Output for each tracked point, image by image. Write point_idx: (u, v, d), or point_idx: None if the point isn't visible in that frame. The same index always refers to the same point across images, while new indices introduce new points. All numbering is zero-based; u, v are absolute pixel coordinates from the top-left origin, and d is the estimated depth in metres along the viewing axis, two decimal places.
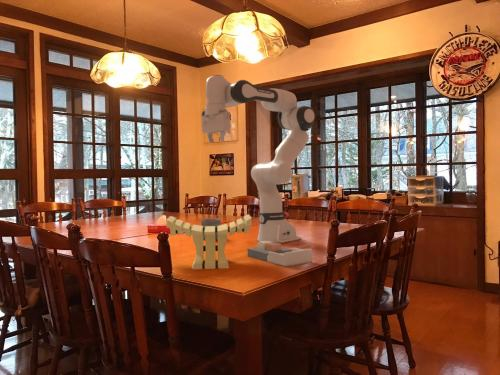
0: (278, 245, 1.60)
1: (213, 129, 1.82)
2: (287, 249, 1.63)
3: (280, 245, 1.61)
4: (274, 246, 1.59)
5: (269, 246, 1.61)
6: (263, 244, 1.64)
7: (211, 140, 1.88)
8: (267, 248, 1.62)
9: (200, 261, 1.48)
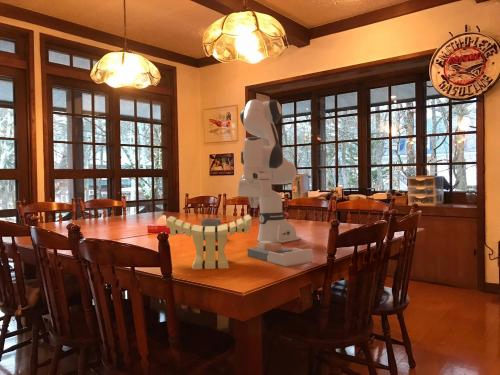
0: (278, 245, 1.60)
1: None
2: (287, 249, 1.63)
3: (280, 245, 1.61)
4: (274, 246, 1.59)
5: (269, 246, 1.61)
6: (263, 244, 1.64)
7: None
8: (267, 248, 1.62)
9: (200, 261, 1.48)
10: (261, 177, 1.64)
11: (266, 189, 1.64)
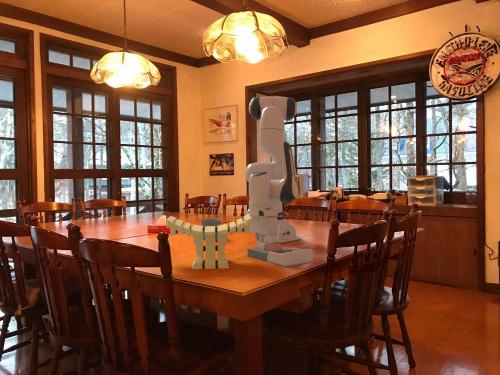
0: (278, 245, 1.60)
1: None
2: (287, 249, 1.63)
3: (280, 245, 1.61)
4: (274, 246, 1.59)
5: (269, 246, 1.61)
6: (263, 244, 1.64)
7: None
8: (267, 248, 1.62)
9: (200, 261, 1.48)
10: (267, 215, 1.61)
11: (273, 227, 1.61)
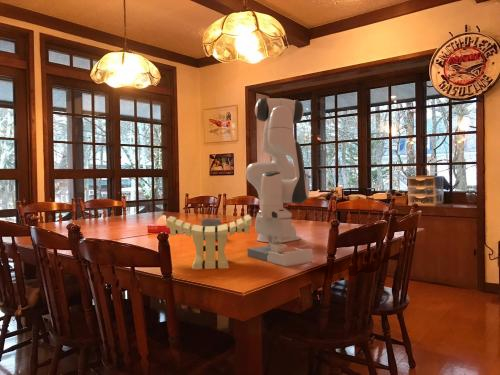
0: None
1: None
2: None
3: None
4: None
5: None
6: (276, 247, 1.57)
7: None
8: (284, 251, 1.53)
9: (200, 261, 1.48)
10: (281, 217, 1.54)
11: (287, 229, 1.54)
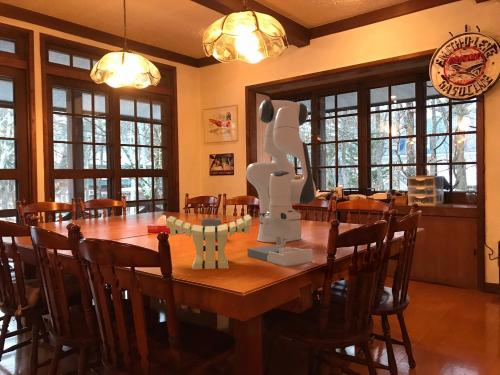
0: None
1: None
2: None
3: None
4: None
5: None
6: None
7: None
8: None
9: (200, 261, 1.48)
10: (290, 218, 1.49)
11: (296, 231, 1.49)
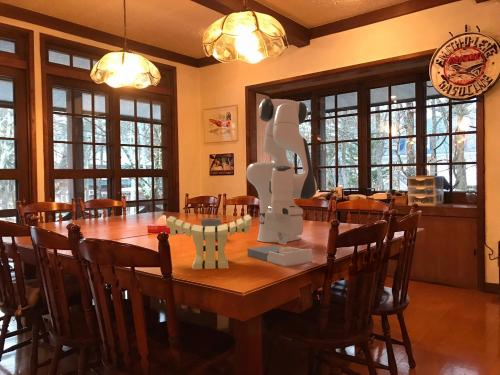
0: None
1: None
2: None
3: None
4: None
5: None
6: None
7: None
8: None
9: (200, 261, 1.48)
10: (292, 213, 1.48)
11: (298, 226, 1.48)
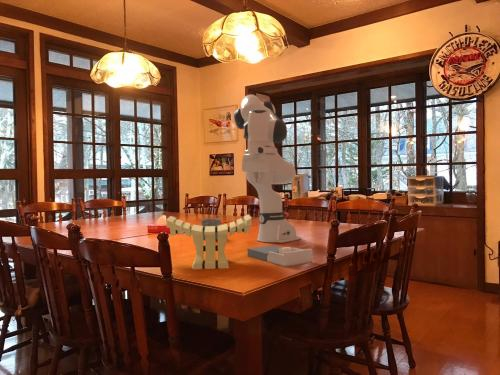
0: None
1: None
2: None
3: None
4: None
5: None
6: None
7: None
8: None
9: (200, 261, 1.48)
10: (267, 151, 1.58)
11: (272, 163, 1.58)
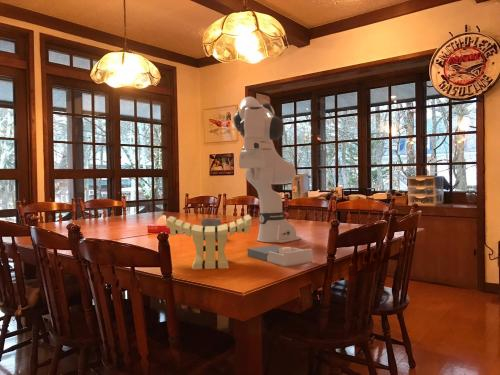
0: None
1: None
2: None
3: None
4: None
5: None
6: None
7: None
8: None
9: (200, 261, 1.48)
10: (262, 147, 1.59)
11: (268, 158, 1.59)
